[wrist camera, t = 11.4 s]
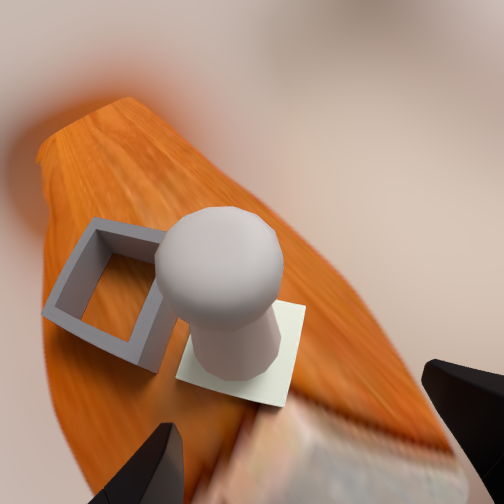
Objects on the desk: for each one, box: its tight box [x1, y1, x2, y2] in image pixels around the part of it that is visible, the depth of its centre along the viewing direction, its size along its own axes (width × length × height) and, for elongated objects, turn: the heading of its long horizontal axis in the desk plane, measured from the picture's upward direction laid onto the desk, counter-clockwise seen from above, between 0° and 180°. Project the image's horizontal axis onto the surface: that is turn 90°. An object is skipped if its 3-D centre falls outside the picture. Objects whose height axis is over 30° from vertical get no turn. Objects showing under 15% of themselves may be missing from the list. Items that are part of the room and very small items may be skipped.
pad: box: [175, 300, 306, 407], centre depth 19 cm, size 8×8×1 cm
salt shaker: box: [155, 206, 284, 381], centre depth 13 cm, size 6×6×13 cm
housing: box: [41, 217, 178, 374], centre depth 20 cm, size 10×10×4 cm
